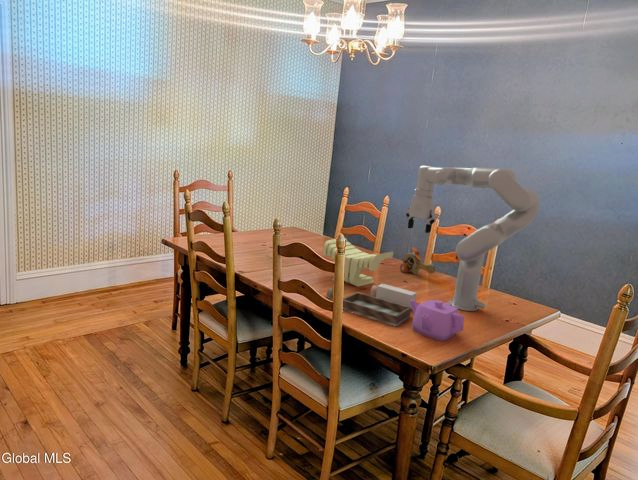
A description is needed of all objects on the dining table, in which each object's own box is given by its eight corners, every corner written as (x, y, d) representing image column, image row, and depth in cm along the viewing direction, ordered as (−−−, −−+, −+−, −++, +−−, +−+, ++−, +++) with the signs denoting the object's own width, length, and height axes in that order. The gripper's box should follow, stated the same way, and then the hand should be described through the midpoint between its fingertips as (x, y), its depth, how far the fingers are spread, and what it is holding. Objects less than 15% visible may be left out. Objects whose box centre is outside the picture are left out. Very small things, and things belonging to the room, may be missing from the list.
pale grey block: (414, 308, 205) (416, 292, 204) (409, 311, 201) (411, 295, 200) (374, 296, 215) (376, 281, 214) (369, 299, 211) (371, 284, 209)
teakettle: (463, 343, 174) (469, 311, 171) (418, 340, 172) (423, 308, 170) (448, 324, 190) (452, 295, 188) (406, 322, 189) (410, 292, 186)
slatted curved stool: (320, 275, 238) (324, 240, 235) (341, 270, 250) (344, 237, 246) (368, 292, 219) (373, 255, 215) (388, 286, 231) (393, 251, 227)
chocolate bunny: (329, 301, 203) (332, 279, 201) (324, 295, 210) (326, 273, 208) (342, 301, 205) (344, 279, 202) (336, 295, 212) (339, 273, 210)
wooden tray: (409, 316, 194) (411, 307, 193) (395, 326, 183) (396, 316, 182) (356, 300, 207) (357, 291, 206) (339, 308, 196) (340, 299, 195)
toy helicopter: (407, 269, 266) (410, 245, 263) (437, 279, 250) (441, 254, 247) (397, 270, 261) (400, 246, 258) (428, 281, 245) (431, 255, 242)
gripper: (403, 190, 220) (398, 226, 224) (435, 196, 208) (429, 235, 212) (413, 190, 225) (408, 225, 229) (445, 196, 213) (439, 233, 217)
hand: (418, 230), depth 221 cm, fingers open, 9 cm apart
